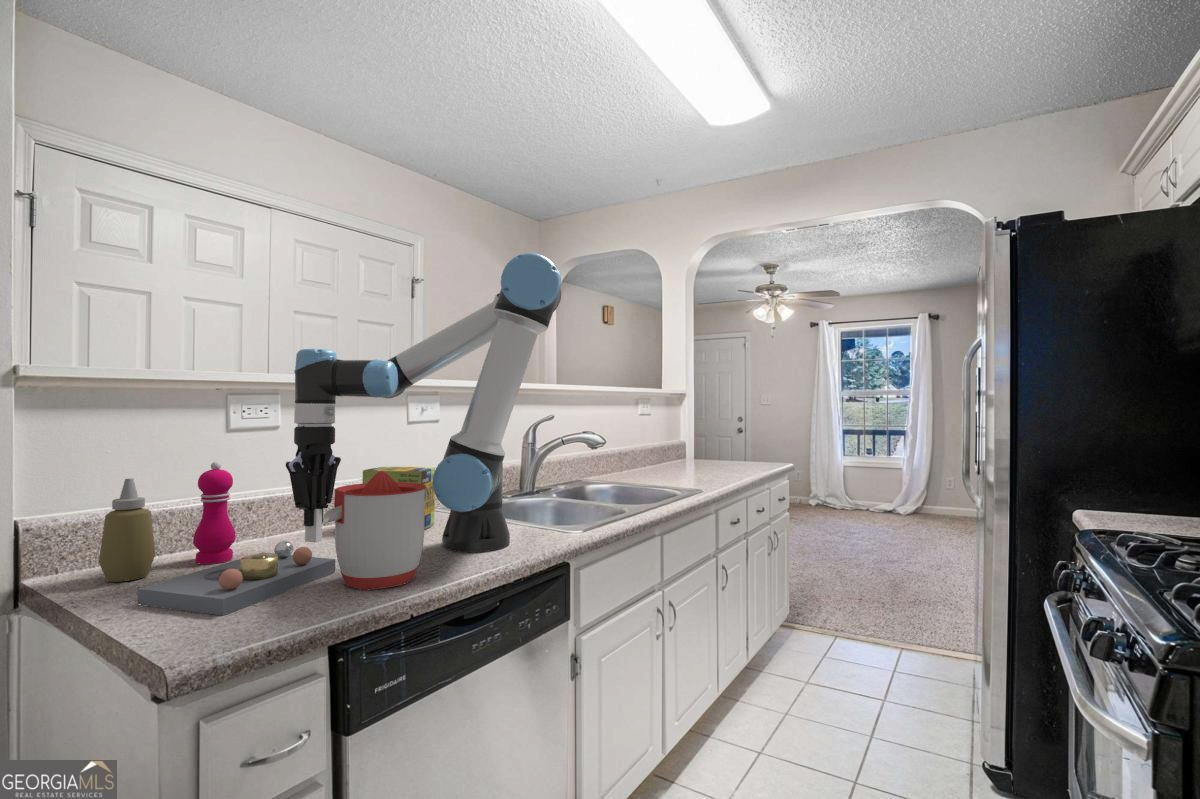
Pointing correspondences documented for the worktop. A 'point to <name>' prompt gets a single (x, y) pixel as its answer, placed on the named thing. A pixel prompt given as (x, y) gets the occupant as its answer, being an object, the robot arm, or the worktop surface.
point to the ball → (283, 549)
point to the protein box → (412, 476)
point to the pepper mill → (214, 517)
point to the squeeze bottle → (127, 538)
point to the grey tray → (211, 598)
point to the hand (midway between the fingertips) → (313, 541)
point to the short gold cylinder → (259, 566)
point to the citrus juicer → (378, 531)
